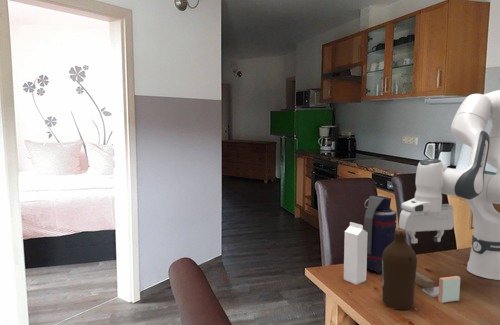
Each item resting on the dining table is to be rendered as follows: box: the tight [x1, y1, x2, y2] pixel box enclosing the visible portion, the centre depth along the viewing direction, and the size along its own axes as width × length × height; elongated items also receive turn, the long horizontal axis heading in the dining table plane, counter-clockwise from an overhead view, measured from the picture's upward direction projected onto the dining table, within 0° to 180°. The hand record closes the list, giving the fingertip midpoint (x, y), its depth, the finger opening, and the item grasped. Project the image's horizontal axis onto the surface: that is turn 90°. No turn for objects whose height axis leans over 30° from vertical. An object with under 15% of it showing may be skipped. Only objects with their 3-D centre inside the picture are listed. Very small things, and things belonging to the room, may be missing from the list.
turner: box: [415, 270, 439, 298], centre depth 137 cm, size 7×15×3 cm, turn 14°
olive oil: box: [381, 227, 418, 311], centre depth 123 cm, size 11×11×25 cm
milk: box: [343, 221, 368, 286], centre depth 142 cm, size 6×6×22 cm
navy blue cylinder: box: [363, 195, 397, 275], centre depth 151 cm, size 14×12×30 cm
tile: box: [437, 275, 461, 304], centre depth 126 cm, size 7×2×8 cm, turn 104°
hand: (425, 242), depth 136 cm, fingers open, 8 cm apart
